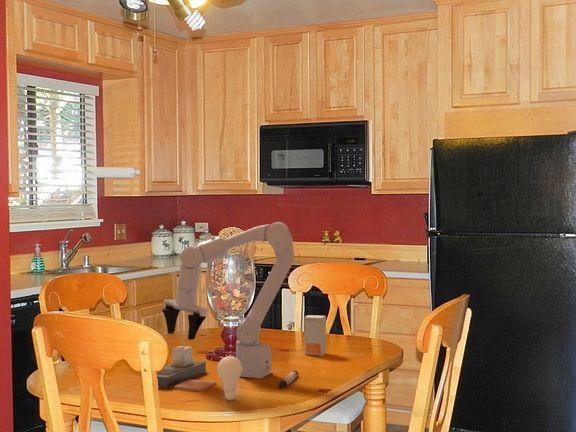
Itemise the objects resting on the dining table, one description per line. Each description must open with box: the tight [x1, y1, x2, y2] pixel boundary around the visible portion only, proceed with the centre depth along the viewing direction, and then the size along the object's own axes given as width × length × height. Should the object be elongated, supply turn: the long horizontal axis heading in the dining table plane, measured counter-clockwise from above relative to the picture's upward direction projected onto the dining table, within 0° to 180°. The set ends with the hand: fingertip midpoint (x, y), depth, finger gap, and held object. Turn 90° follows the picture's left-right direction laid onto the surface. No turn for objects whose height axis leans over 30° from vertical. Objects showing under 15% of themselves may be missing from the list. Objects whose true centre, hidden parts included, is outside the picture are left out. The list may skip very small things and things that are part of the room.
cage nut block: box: [171, 345, 193, 368], centre depth 221 cm, size 4×4×8 cm
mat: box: [173, 378, 217, 392], centre depth 209 cm, size 8×8×1 cm
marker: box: [278, 370, 299, 389], centre depth 212 cm, size 15×2×2 cm, turn 164°
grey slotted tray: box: [157, 360, 207, 390], centre depth 218 cm, size 8×20×3 cm, turn 156°
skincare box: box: [303, 314, 327, 357], centre depth 248 cm, size 6×4×12 cm
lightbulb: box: [216, 355, 242, 401], centre depth 195 cm, size 6×6×11 cm
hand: (180, 336), depth 222 cm, fingers open, 7 cm apart
